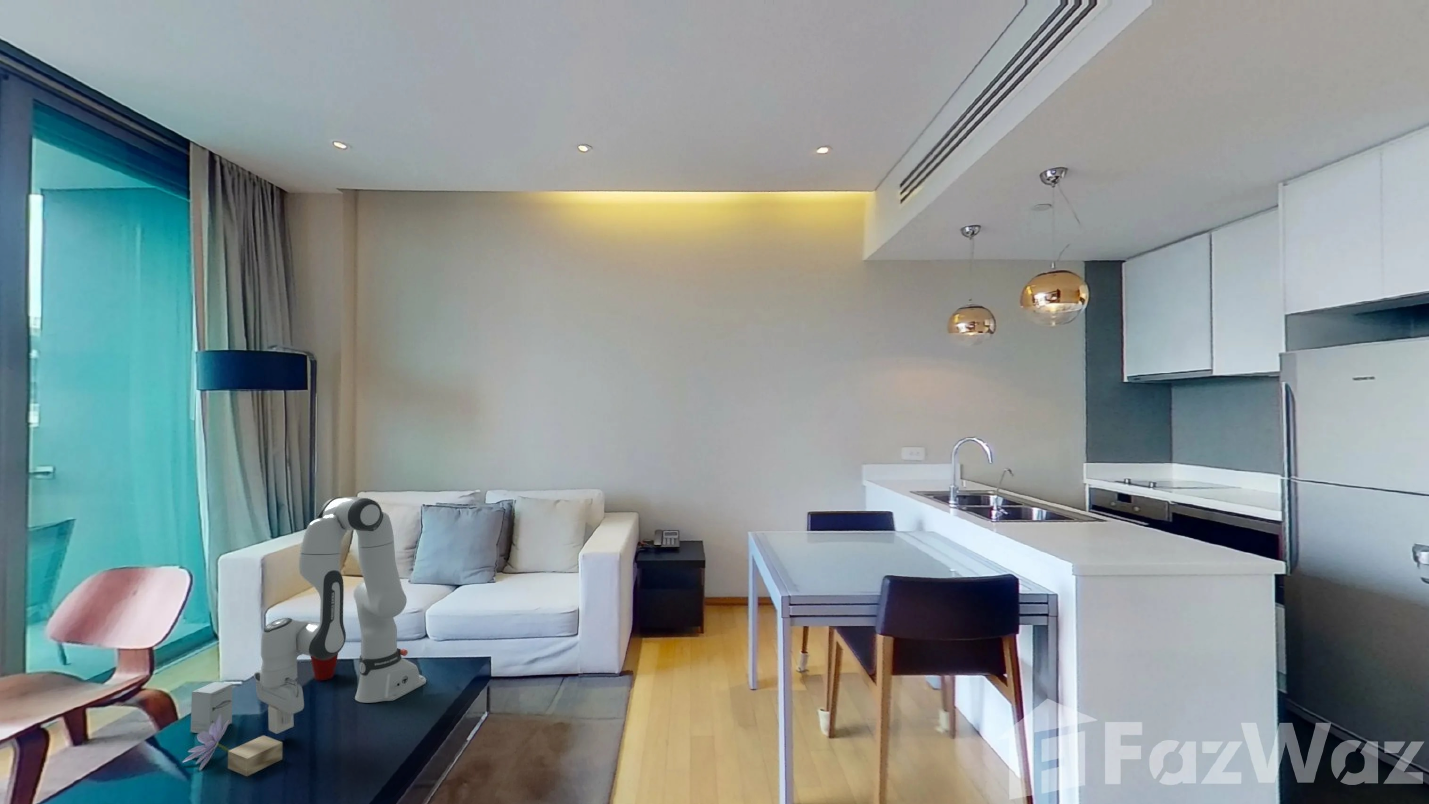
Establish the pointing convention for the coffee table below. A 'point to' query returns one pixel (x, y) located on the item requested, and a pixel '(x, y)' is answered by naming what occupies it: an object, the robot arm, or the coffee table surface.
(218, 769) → the coffee table surface
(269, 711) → the pale two-tone block
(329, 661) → the plastic cup
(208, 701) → the supplement box
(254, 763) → the oak block
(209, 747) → the water lily
